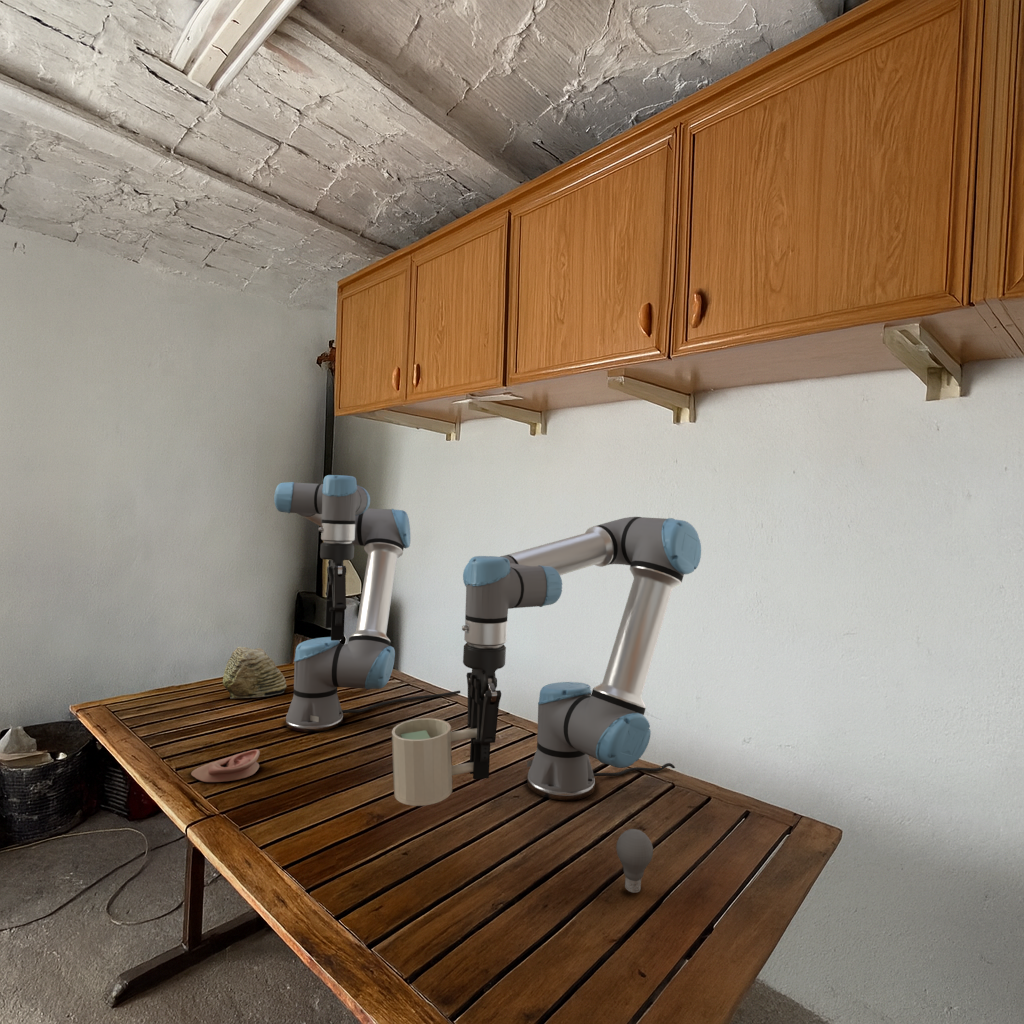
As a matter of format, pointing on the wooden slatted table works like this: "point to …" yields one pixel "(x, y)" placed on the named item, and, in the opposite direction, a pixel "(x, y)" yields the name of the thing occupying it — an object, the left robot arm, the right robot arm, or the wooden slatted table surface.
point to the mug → (426, 761)
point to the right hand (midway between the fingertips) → (478, 774)
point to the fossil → (252, 674)
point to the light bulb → (634, 857)
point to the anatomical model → (229, 768)
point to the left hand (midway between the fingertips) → (334, 633)
